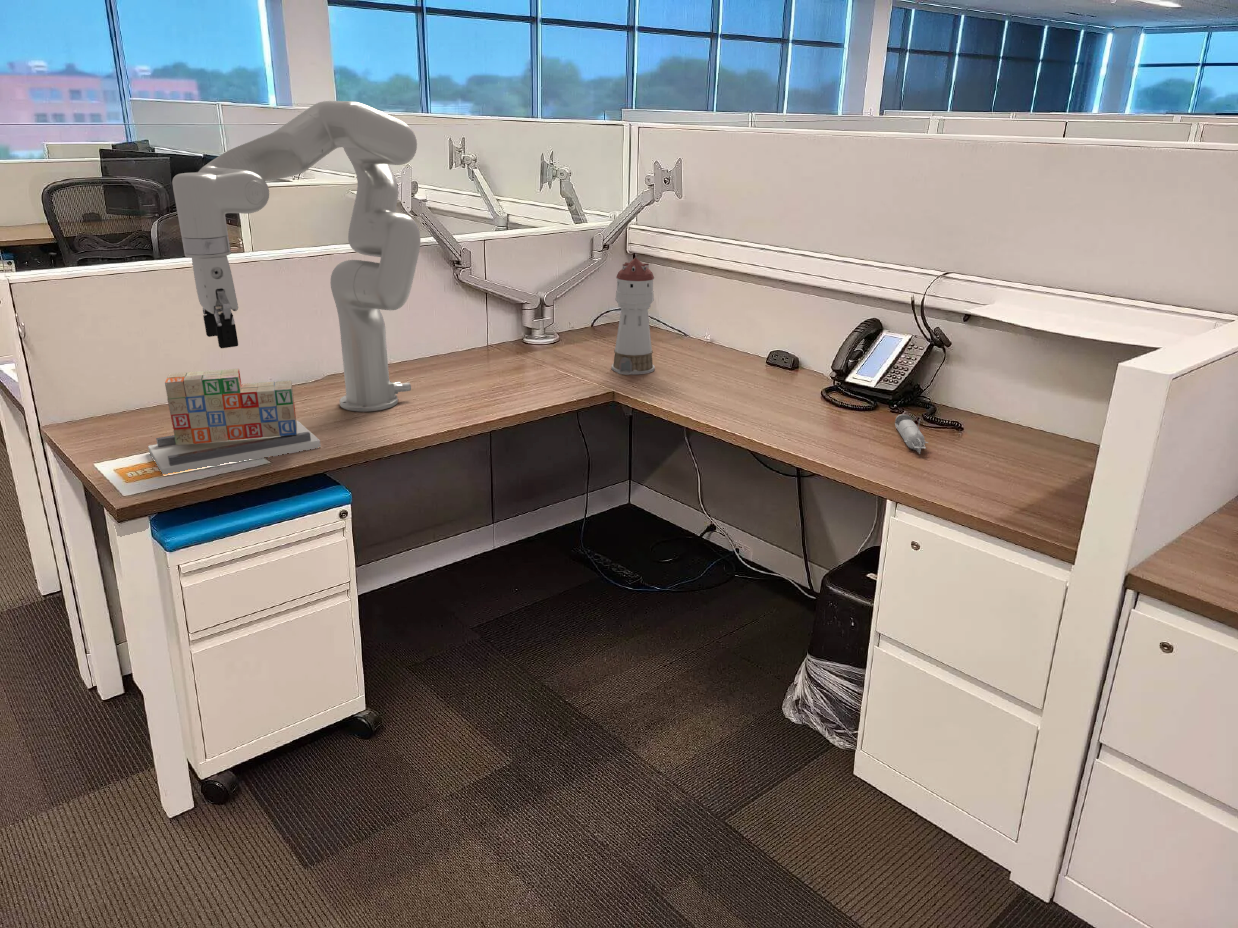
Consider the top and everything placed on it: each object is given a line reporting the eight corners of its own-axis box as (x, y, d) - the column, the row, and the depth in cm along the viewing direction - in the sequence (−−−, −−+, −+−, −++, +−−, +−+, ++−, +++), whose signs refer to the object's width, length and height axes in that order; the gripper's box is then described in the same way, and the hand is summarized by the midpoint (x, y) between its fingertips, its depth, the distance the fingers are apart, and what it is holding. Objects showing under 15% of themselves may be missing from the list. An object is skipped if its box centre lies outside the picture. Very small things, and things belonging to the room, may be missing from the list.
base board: (298, 427, 184) (297, 413, 183) (320, 447, 174) (319, 433, 173) (149, 453, 169) (146, 438, 168) (163, 476, 159) (160, 461, 158)
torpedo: (888, 427, 193) (892, 398, 191) (911, 428, 193) (915, 399, 191) (907, 456, 177) (912, 425, 174) (931, 457, 176) (936, 426, 174)
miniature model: (655, 364, 237) (660, 249, 226) (652, 376, 226) (657, 255, 215) (614, 362, 238) (616, 247, 227) (608, 374, 227) (610, 254, 216)
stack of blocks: (297, 425, 177) (290, 364, 172) (297, 435, 171) (290, 373, 167) (179, 434, 170) (168, 372, 166) (174, 445, 165) (163, 381, 160)
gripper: (241, 251, 153) (256, 348, 160) (217, 238, 166) (232, 328, 173) (194, 255, 149) (211, 355, 156) (173, 241, 162) (190, 334, 169)
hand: (222, 341), depth 164 cm, fingers open, 9 cm apart
